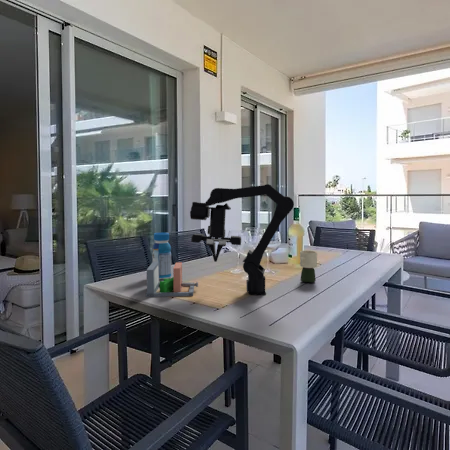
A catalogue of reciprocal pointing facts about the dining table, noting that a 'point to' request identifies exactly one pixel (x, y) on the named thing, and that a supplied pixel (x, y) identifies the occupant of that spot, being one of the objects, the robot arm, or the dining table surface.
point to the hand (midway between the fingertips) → (215, 261)
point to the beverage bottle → (162, 254)
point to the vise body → (154, 283)
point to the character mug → (308, 265)
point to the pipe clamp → (167, 285)
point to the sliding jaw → (180, 278)
